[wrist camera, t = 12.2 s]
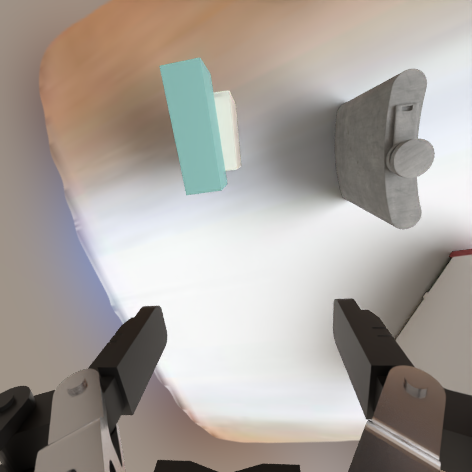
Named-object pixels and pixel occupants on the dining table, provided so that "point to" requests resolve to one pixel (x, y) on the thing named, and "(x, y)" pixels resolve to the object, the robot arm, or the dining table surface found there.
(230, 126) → the cream rectangular block
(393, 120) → the hip flask
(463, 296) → the model house
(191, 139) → the teal rectangular block
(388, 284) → the dining table surface
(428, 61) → the dining table surface
